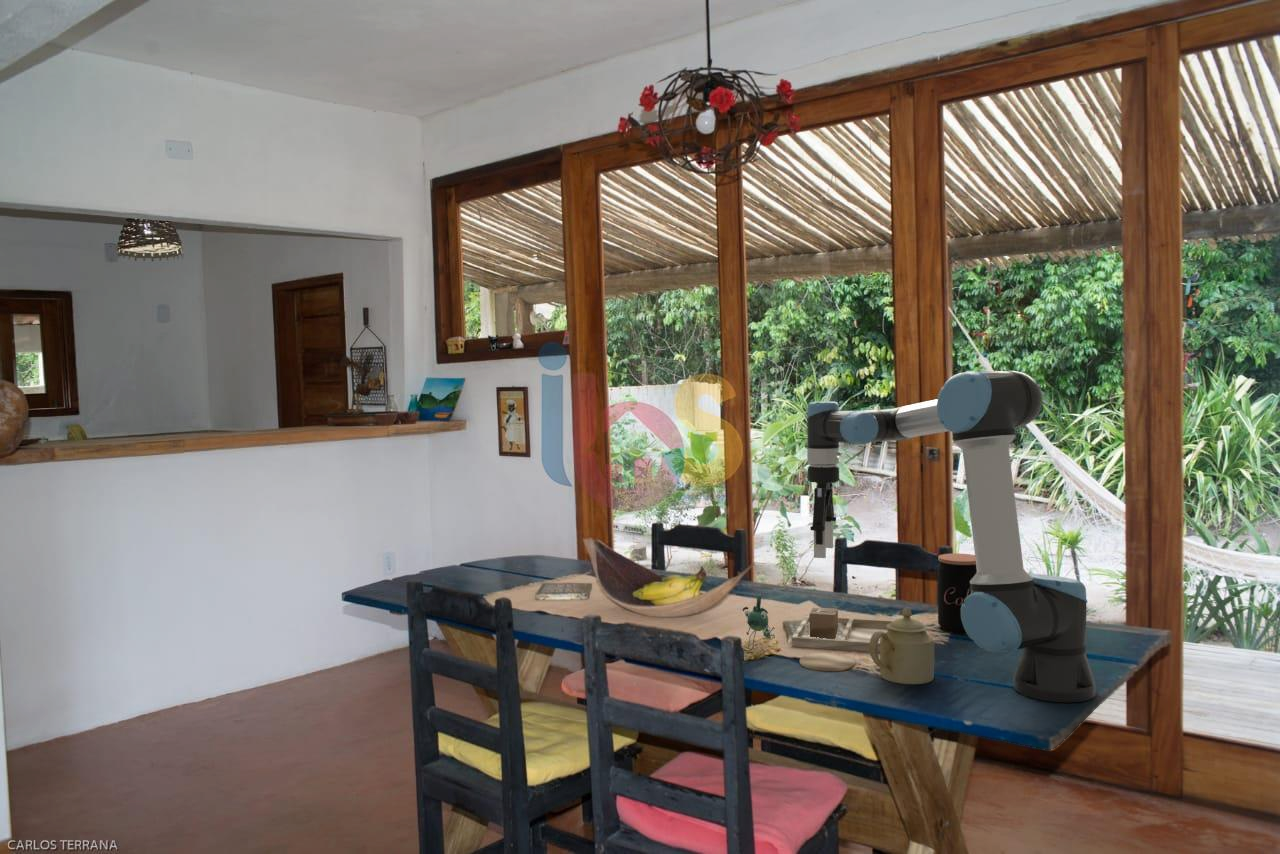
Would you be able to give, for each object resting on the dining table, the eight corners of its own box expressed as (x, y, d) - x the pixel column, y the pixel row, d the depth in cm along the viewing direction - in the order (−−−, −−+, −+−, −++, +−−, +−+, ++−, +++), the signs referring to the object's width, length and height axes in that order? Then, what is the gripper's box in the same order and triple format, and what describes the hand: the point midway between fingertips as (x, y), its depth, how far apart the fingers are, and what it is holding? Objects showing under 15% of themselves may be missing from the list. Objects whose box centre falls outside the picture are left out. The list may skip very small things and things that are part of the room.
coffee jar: (939, 633, 240) (939, 560, 239) (936, 622, 250) (936, 552, 249) (985, 635, 237) (985, 561, 236) (980, 624, 248) (980, 553, 247)
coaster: (851, 673, 209) (851, 671, 209) (795, 668, 213) (795, 666, 213) (857, 657, 220) (857, 655, 220) (804, 653, 224) (804, 651, 224)
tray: (892, 655, 222) (892, 644, 222) (791, 647, 229) (791, 637, 229) (898, 630, 243) (898, 620, 243) (806, 624, 250) (806, 615, 250)
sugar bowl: (921, 693, 195) (921, 619, 195) (867, 685, 201) (867, 613, 200) (940, 673, 208) (939, 603, 207) (888, 666, 214) (888, 598, 213)
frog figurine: (798, 646, 231) (795, 586, 229) (758, 673, 217) (754, 610, 215) (763, 639, 237) (760, 581, 235) (722, 665, 223) (718, 603, 221)
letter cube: (834, 639, 234) (834, 614, 234) (809, 637, 236) (809, 612, 235) (838, 633, 240) (837, 608, 239) (813, 631, 241) (813, 607, 241)
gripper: (832, 470, 222) (832, 563, 224) (845, 460, 246) (845, 544, 247) (799, 470, 225) (800, 561, 226) (815, 460, 248) (815, 543, 250)
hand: (823, 552), depth 237 cm, fingers open, 13 cm apart
